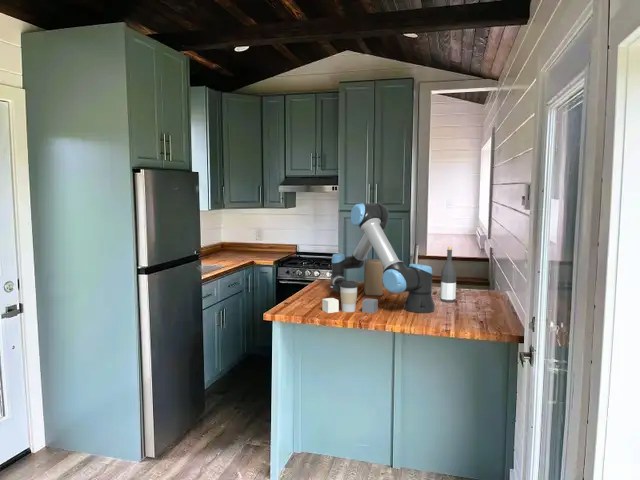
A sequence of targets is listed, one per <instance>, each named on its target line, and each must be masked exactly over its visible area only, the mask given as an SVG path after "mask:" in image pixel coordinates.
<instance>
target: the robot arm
mask: <svg viewBox="0 0 640 480" xmlns="http://www.w3.org/2000/svg"><path fill="white" fill-rule="evenodd" d="M389 220H390V211H389V210H388V208H387V207H386V206H385V205H384V204H382V203H378V202H376V203H356V204H355V205H354V206H353V207H352V208H351V211H350V222H351V224H352V225H353V226H355V227H358V228H359V229H360V231H361V233H362V232H363V233H364V234H363V236H362V238H361V239H360V241H359V243H358V245H357V246H356V247H355V250H354V251H353V253H352V254H351V255H349V256H345V254H344V253H333V254H332V257H331V277H330V283H331V284H330V289H331V290H333V291H334V292H336V293H340V291H341V290H340V284H341V283H342V281H347V280H346V278H345V270H351V269H352V270H353V269H361V268H365V260H366V259H367V258H366V257H367V256H368V254H369V252H370V250H371V249H372V247H373V250H374V252H375V254H376V255H377V258H378V259H379V260H380V261H381V263H382V265H383V277H382V279H383V287H384V288H385V289H386V290H387V291H388V292H390V293H391V294H401V293H406V292H408V294H407V297H406V299H405V302H404V310H406V311H408V312H411V313H419V314H420V313H421V314H426V313H427V314H428V313H432V312H435V310H436V308H435V307H436V306H435V303H434V299H433V295H432V294H433V293H432V292H433V290H432V289H433V275H434V274H433V268H432V266H430V265H425V264H419V263H418V264H417V263H410V264H409V266H408V267H407V265H406V264H405V262H404V261H403V260H400V259H399V258H398V255H397V254H396V252H395V249H394V248H393V246H392V244H391V243H390V241H389V240H388V238H387V236H386V234H385V232H384V230H385V229H386V227H387V226H388V224H389Z"/></svg>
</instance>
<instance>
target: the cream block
mask: <svg viewBox="0 0 640 480" xmlns="http://www.w3.org/2000/svg"><path fill="white" fill-rule="evenodd" d="M321 300H322V301H321V302H322V309H321V310H322V311H323V312H325V313H327V314H332V313H339V310H340V309H339V308H340V307H339V306H340V304H339V299H336V298H334V297H328V298H327V297H326V298H322V299H321Z"/></svg>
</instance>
